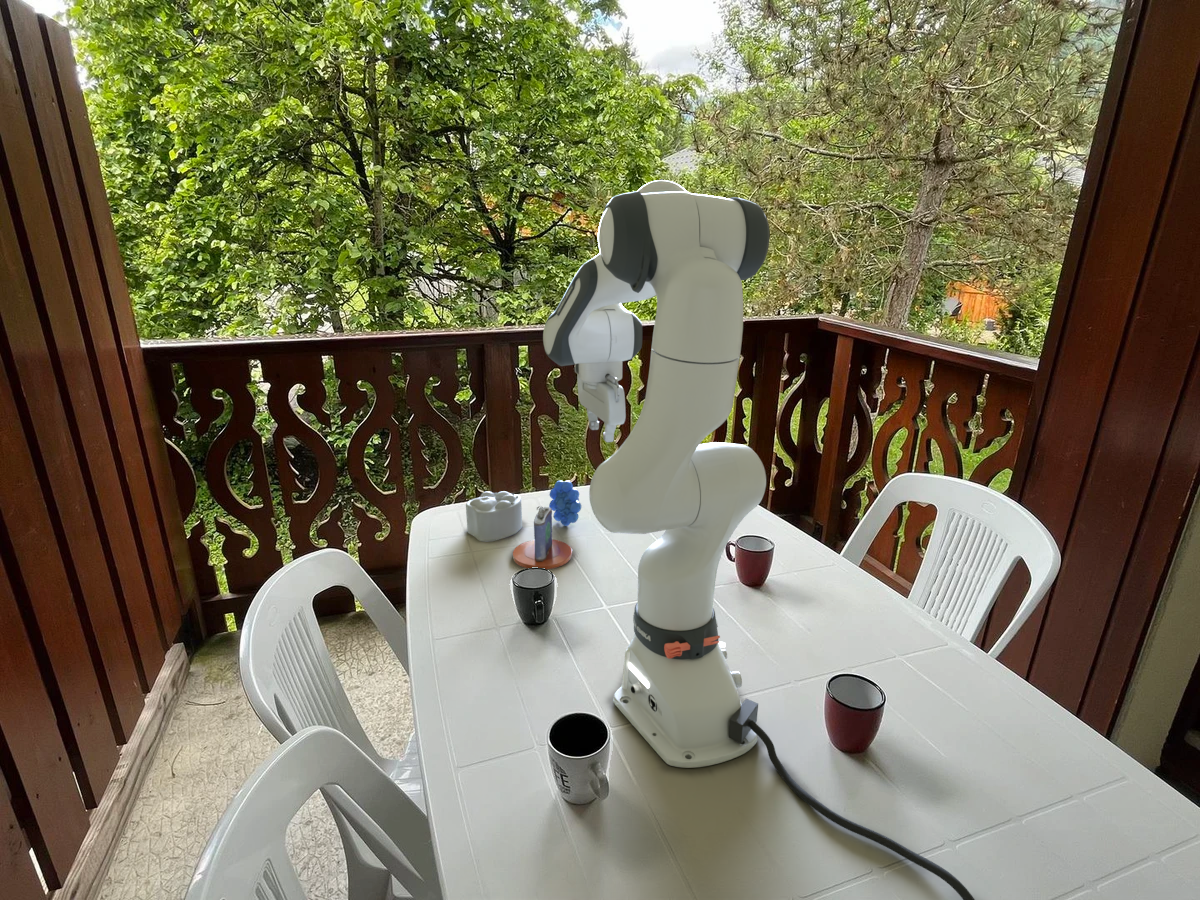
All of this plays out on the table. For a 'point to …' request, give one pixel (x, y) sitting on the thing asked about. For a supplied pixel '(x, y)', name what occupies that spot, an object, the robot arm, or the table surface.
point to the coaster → (555, 558)
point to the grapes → (565, 502)
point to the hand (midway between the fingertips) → (601, 435)
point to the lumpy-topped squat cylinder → (494, 515)
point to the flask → (543, 533)
